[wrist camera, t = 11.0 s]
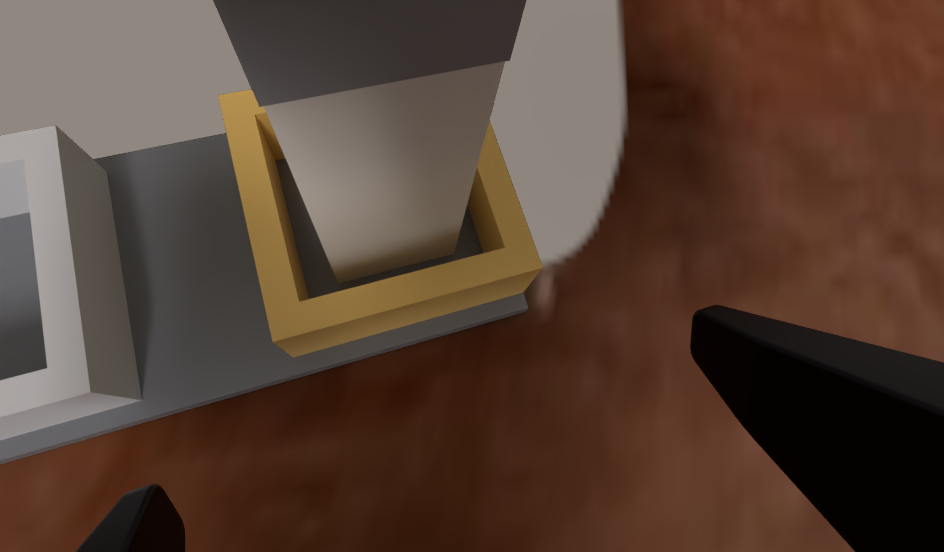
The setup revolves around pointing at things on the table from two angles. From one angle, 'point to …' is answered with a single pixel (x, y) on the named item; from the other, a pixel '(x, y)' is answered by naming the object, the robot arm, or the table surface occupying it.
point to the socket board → (207, 279)
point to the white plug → (377, 114)
